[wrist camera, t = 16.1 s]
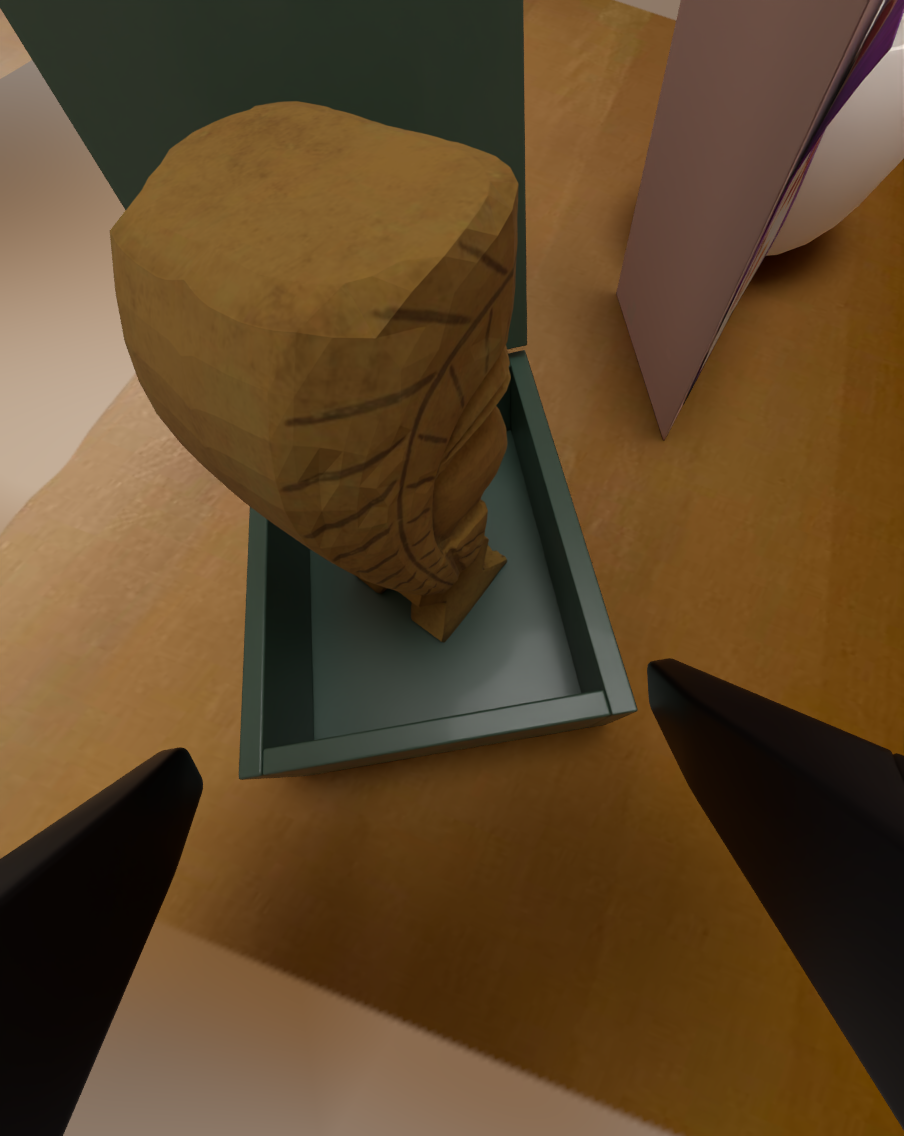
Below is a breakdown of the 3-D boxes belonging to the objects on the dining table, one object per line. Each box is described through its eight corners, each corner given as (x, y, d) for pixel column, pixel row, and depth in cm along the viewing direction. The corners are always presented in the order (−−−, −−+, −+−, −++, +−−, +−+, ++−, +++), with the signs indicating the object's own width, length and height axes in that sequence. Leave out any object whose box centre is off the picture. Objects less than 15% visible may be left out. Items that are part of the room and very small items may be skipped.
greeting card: (681, 446, 23) (933, -32, 9) (547, 399, 25) (588, -39, 11) (754, 302, 26) (1021, -210, 12) (629, 272, 28) (739, -188, 15)
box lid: (514, -868, 6) (464, -631, 8) (-355, -561, 6) (-158, -426, 9) (527, 345, 19) (507, 297, 22) (246, 406, 20) (258, 352, 22)
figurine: (527, 563, 20) (556, 154, 7) (436, 680, 19) (231, 454, 5) (413, 490, 23) (262, 78, 9) (323, 587, 21) (-22, 266, 8)
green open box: (607, 724, 18) (638, 710, 13) (304, 776, 19) (237, 780, 14) (522, 426, 24) (524, 349, 20) (300, 472, 25) (253, 408, 21)
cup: (596, 263, 29) (632, 44, 20) (684, 161, 32) (749, -67, 23) (797, 326, 25) (951, 86, 16) (875, 201, 28) (1041, -56, 19)
